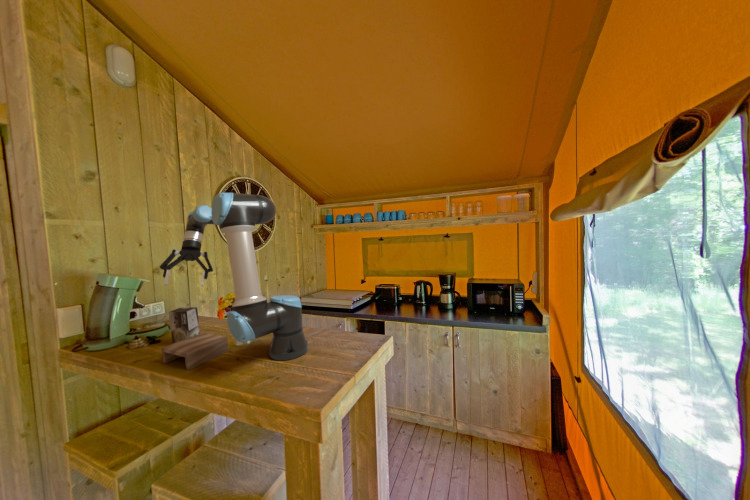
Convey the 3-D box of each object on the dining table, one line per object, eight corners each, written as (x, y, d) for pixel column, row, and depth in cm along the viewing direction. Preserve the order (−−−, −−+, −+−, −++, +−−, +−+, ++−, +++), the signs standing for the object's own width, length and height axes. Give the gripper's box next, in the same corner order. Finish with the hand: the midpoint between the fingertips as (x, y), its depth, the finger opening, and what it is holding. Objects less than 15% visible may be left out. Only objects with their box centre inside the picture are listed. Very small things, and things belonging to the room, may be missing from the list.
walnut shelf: (228, 350, 110) (227, 337, 110) (188, 369, 96) (187, 354, 95) (204, 345, 117) (203, 332, 117) (163, 362, 102) (161, 347, 102)
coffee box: (201, 340, 123) (198, 306, 122) (190, 346, 117) (186, 311, 116) (183, 340, 124) (180, 307, 123) (171, 346, 118) (168, 311, 117)
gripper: (222, 247, 134) (217, 287, 126) (162, 242, 124) (152, 286, 116) (221, 241, 127) (215, 283, 120) (158, 236, 117) (146, 282, 110)
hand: (184, 285), depth 118 cm, fingers open, 13 cm apart
